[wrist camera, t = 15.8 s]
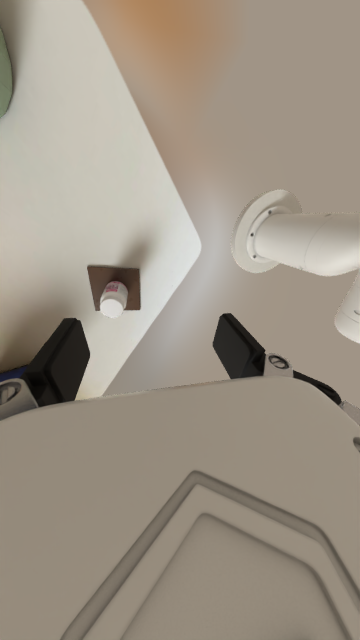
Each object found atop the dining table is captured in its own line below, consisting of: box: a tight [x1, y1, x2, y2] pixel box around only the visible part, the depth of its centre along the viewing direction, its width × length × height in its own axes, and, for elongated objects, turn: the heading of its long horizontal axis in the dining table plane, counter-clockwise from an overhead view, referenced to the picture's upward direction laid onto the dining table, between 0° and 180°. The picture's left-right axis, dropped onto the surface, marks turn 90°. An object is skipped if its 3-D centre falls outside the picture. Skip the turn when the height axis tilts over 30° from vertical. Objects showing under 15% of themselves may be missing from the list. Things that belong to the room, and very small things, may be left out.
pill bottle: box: [100, 281, 128, 318], centre depth 32 cm, size 5×5×8 cm
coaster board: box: [87, 267, 140, 311], centre depth 35 cm, size 10×10×1 cm
